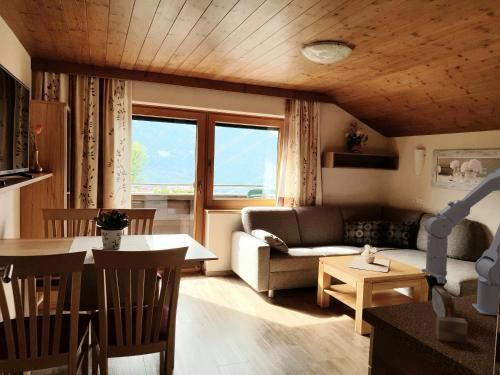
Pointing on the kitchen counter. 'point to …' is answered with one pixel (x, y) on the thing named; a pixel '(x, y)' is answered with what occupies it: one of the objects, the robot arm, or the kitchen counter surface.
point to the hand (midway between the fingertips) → (434, 299)
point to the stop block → (451, 329)
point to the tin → (442, 302)
